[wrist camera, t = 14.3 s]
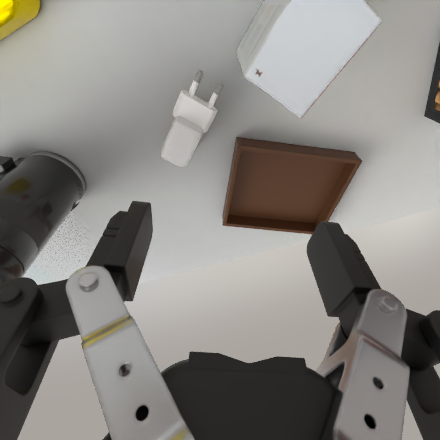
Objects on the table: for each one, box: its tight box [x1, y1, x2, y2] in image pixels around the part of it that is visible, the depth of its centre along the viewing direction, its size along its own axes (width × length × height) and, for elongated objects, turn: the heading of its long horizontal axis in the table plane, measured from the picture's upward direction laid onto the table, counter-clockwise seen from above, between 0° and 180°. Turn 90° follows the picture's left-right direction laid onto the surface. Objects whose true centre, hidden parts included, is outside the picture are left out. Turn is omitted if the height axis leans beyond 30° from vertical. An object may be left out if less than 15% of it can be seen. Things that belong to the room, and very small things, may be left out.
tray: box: [223, 137, 362, 234], centre depth 40 cm, size 18×15×3 cm
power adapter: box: [161, 70, 223, 167], centre depth 31 cm, size 11×5×6 cm, turn 151°
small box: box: [236, 0, 382, 118], centre depth 23 cm, size 8×6×13 cm
